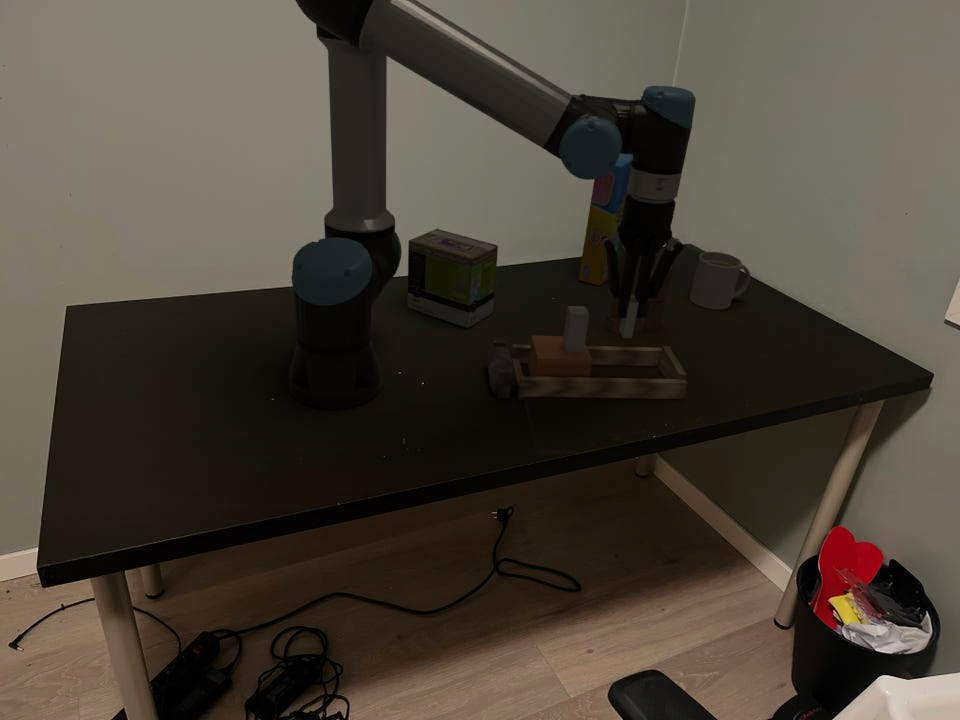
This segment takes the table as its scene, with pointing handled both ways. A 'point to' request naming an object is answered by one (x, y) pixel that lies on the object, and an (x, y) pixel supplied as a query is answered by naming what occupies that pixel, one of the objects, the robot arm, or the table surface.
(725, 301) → the mug
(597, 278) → the game box
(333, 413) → the table surface
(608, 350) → the bay
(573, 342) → the brown block with post
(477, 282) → the tea box
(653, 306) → the brown wooden stand
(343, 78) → the robot arm
